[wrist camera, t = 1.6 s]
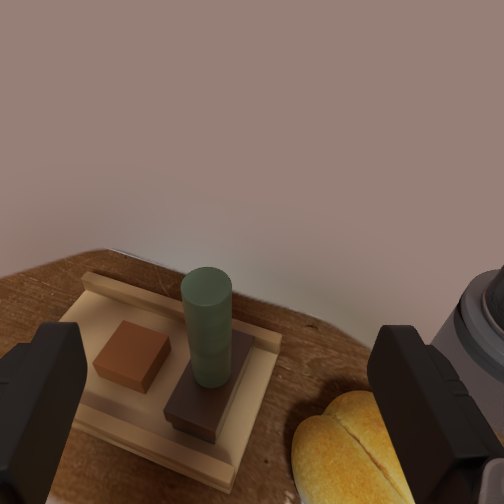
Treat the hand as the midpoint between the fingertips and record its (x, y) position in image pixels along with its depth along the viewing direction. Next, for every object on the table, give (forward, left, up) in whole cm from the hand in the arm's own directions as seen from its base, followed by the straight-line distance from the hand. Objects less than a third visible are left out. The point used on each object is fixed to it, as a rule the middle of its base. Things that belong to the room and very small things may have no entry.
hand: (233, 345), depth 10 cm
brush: (0, -7, -18) cm, 20 cm away
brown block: (+6, -11, -18) cm, 22 cm away
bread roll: (-9, -1, -19) cm, 21 cm away
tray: (+5, -10, -19) cm, 22 cm away
